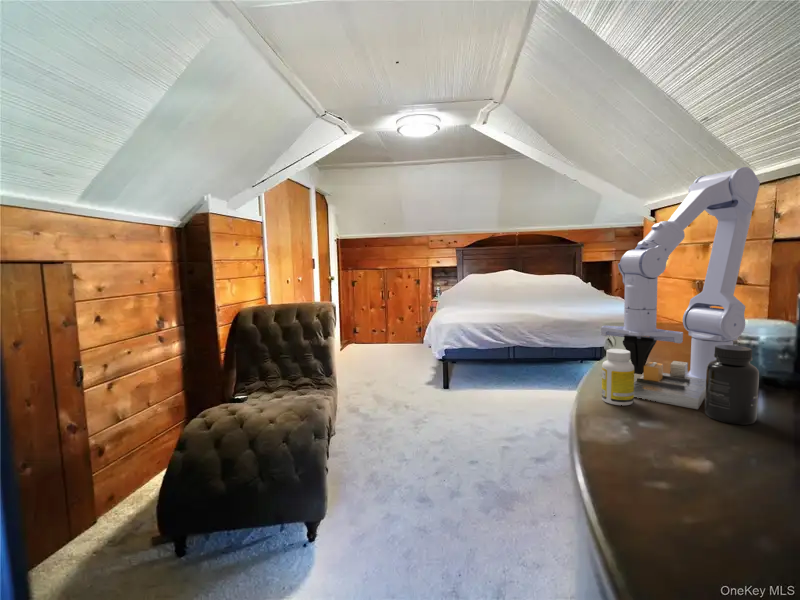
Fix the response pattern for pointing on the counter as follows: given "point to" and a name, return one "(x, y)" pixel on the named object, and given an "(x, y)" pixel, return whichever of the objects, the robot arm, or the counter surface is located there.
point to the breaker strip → (673, 387)
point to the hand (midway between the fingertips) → (638, 372)
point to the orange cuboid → (653, 371)
